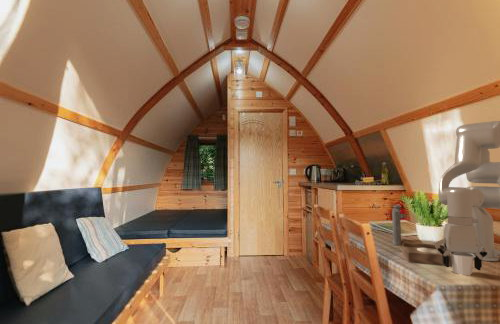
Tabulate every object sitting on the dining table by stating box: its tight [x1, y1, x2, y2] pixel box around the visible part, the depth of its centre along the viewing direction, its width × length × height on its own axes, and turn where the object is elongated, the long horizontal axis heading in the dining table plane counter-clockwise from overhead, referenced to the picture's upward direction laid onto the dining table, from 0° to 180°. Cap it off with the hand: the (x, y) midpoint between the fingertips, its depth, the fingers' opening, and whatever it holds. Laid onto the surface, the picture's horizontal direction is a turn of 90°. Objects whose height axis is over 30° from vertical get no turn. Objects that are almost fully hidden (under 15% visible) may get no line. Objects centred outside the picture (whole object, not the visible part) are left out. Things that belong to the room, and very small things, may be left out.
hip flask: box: [391, 205, 402, 246], centre depth 152 cm, size 16×4×20 cm, turn 152°
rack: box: [402, 241, 452, 267], centre depth 118 cm, size 18×12×6 cm, turn 71°
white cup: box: [450, 252, 474, 276], centre depth 103 cm, size 7×7×7 cm
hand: (461, 267), depth 103 cm, fingers open, 9 cm apart
